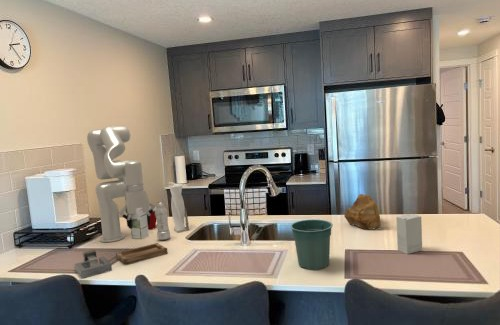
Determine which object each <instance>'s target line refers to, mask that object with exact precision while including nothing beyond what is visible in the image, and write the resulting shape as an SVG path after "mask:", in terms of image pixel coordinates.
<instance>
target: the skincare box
mask: <svg viewBox="0 0 500 325" xmlns="http://www.w3.org/2000/svg"><path fill="white" fill-rule="evenodd" d="M422 226H423V225H422V216H420V215H418V214H413V213H409V214H408V213H407V214H404V215H400V216H399V215H398V216H396V240H397V243H396V244H397V245H396V246H397V250H398V251H399V252H402V253H404V254H406V255H411V254H413V253H417V252H421V251H423V234H422V233H423V229H422Z"/></svg>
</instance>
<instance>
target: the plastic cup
mask: <svg viewBox="0 0 500 325" xmlns="http://www.w3.org/2000/svg"><path fill="white" fill-rule="evenodd" d="M157 207H158V206H157ZM157 207H156V206H155V208H154V210H153V212H152V213H151V215H150V225H148V230H153V228H154V229H156V227H157V219H156V215H155V211H156V209H157ZM150 208H151V207H150Z"/></svg>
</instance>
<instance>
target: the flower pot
mask: <svg viewBox="0 0 500 325" xmlns="http://www.w3.org/2000/svg"><path fill="white" fill-rule="evenodd" d="M333 225H334V224H333V223H332V222H331V221H328V220H325V219H314V218H313V219H312V218H311V219H301V220H298V221H295V222H293V223H291V224H290V229H291V230H292V231H291V232H292V236H293V239H294V244H295V250H296V256H297V263H298V266H299V267H300V268H302V269H304V268H305V269H307V270H321V269H325V268H326V267H328V266H329V265H330V253H331V252H330V248H331V236H332V228H333Z"/></svg>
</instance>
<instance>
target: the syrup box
mask: <svg viewBox="0 0 500 325" xmlns="http://www.w3.org/2000/svg"><path fill="white" fill-rule="evenodd" d="M130 220H131V222H132V229H130V233H131V239H132V240H145V239H147V238H148V237H149V236H150V234H149V229H148V222H147V213H146V212H143V208H142V207H141V208H137V209H136V214H133V215H132V216H131V218H130Z"/></svg>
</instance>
